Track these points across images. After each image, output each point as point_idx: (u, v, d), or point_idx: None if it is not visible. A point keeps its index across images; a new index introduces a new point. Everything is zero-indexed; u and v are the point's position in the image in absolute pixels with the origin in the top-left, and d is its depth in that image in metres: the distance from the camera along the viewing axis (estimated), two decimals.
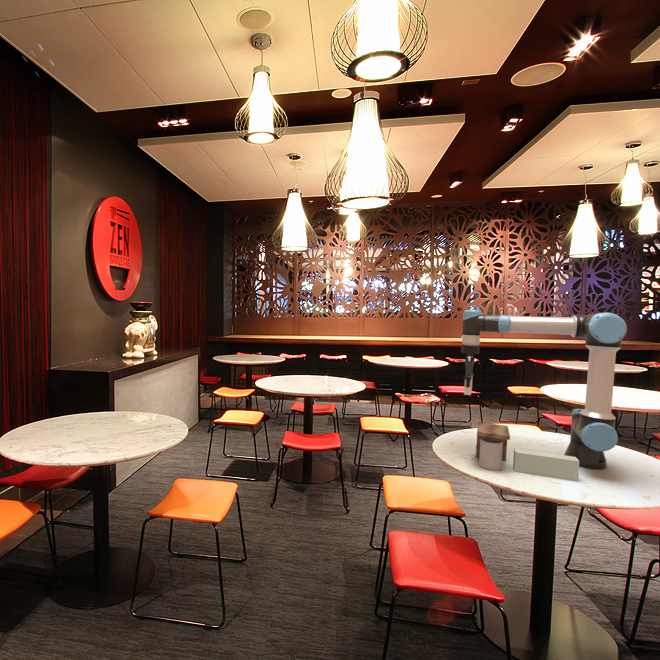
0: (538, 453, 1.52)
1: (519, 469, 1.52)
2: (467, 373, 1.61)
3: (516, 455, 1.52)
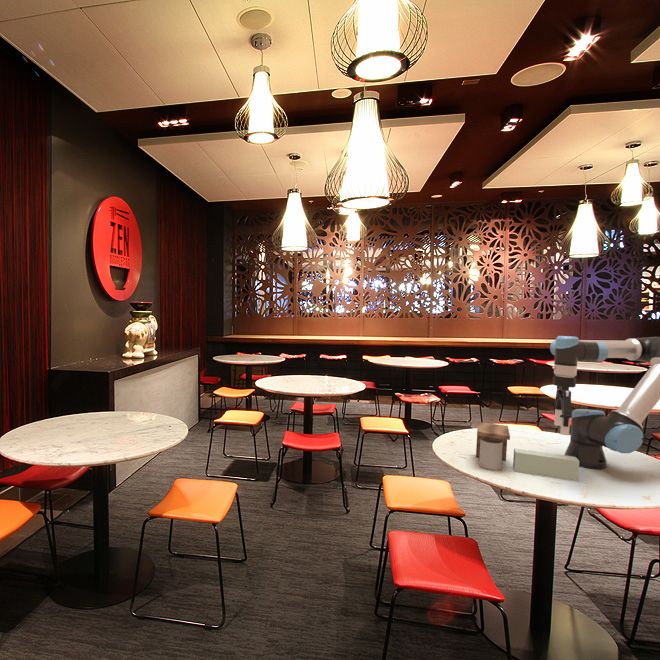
0: (538, 453, 1.52)
1: (519, 469, 1.52)
2: (566, 411, 1.40)
3: (516, 455, 1.52)
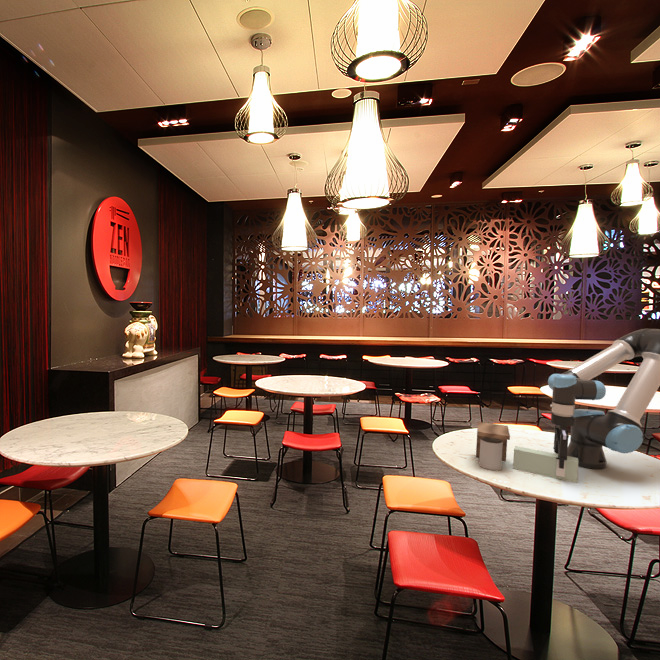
0: (537, 452, 1.53)
1: (518, 466, 1.54)
2: (562, 454, 1.43)
3: (515, 452, 1.55)
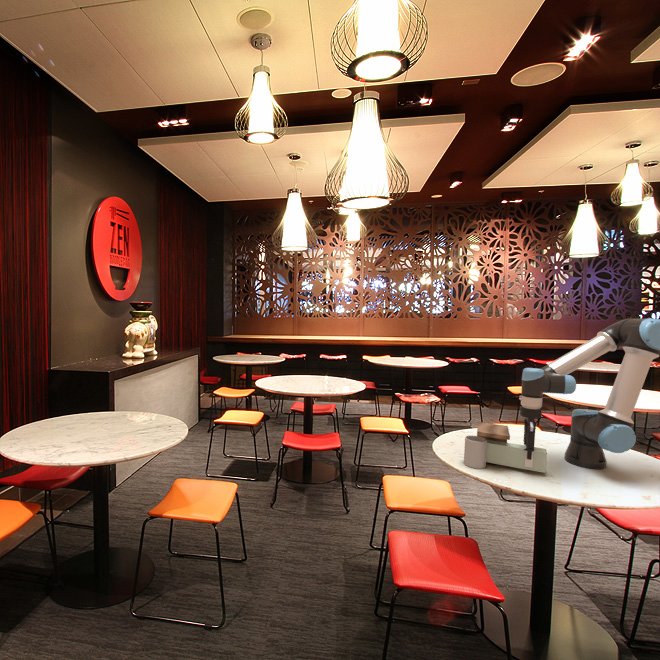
0: (508, 444, 1.56)
1: (490, 459, 1.57)
2: (529, 445, 1.47)
3: (487, 445, 1.57)
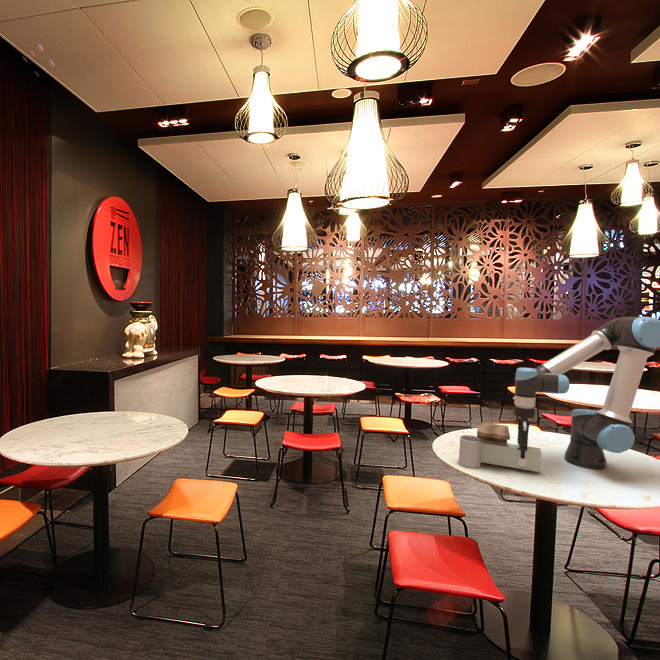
0: (503, 444, 1.56)
1: (485, 459, 1.57)
2: (522, 445, 1.48)
3: (482, 446, 1.57)
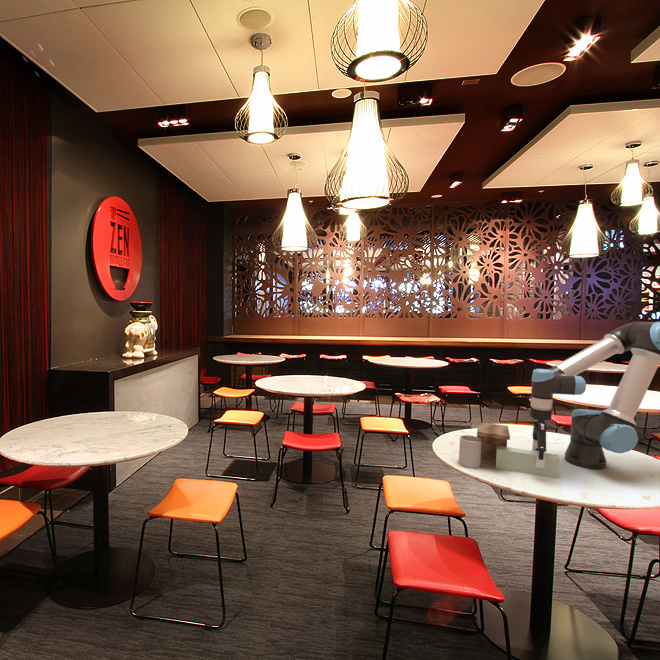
0: (519, 450, 1.54)
1: (500, 465, 1.55)
2: (541, 444, 1.43)
3: (497, 452, 1.55)
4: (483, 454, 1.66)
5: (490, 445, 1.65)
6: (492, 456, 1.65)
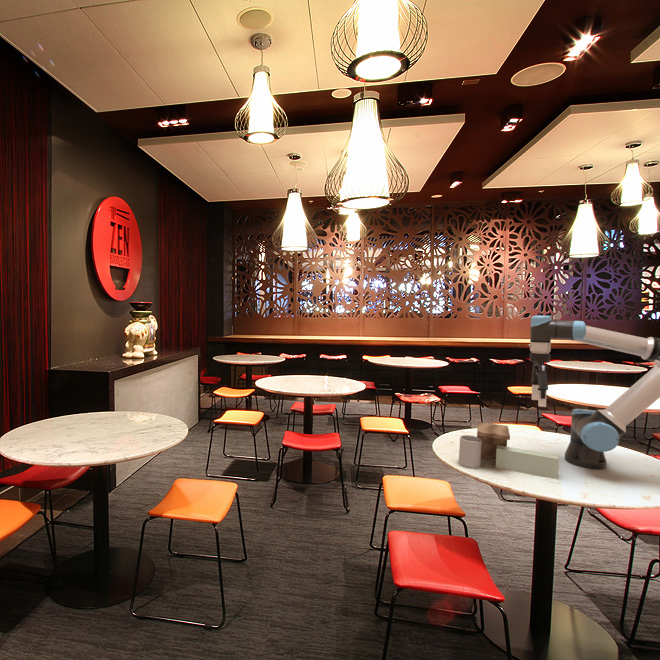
0: (519, 450, 1.54)
1: (500, 465, 1.55)
2: (543, 384, 1.51)
3: (497, 451, 1.56)
4: (483, 454, 1.66)
5: (490, 445, 1.65)
6: (492, 456, 1.65)
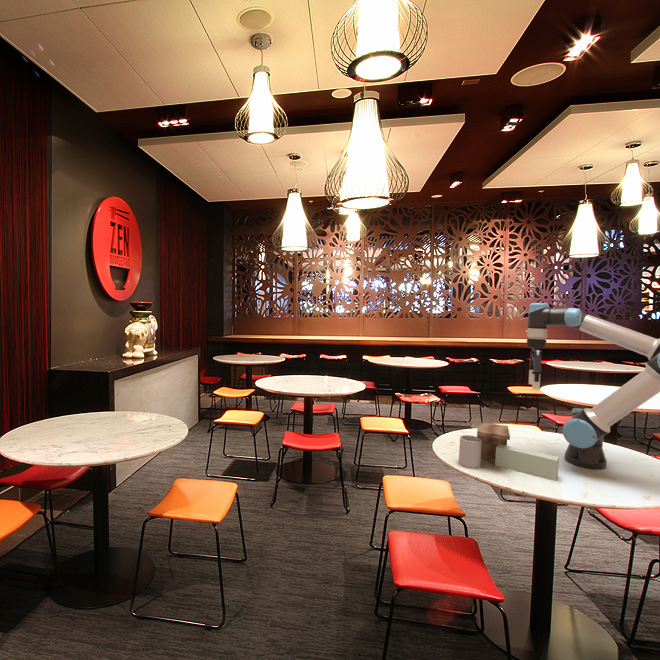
0: (519, 450, 1.55)
1: (499, 463, 1.57)
2: (536, 367, 1.58)
3: (497, 449, 1.58)
4: (483, 454, 1.66)
5: (490, 445, 1.65)
6: (492, 456, 1.65)
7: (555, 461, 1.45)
